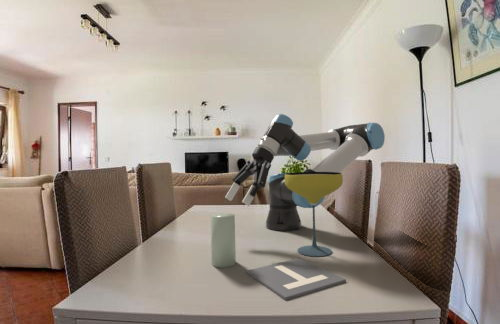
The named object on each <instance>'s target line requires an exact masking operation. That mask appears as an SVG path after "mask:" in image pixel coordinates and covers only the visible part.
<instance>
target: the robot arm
mask: <svg viewBox="0 0 500 324" xmlns="http://www.w3.org/2000/svg"><path fill="white" fill-rule="evenodd" d="M293 125H294V121H293V120H292V119H291V117H290V116H288V115H286V114H281V113H278V114H276V115H275V116H274V118H273V119H272V120H271V122H269V126H268V127H267V129H266V131H265V133H264V134H263V136H262V137H261V138H260V140H259V143H258V144H257V146H256V147H255V148H254V150H253V152H252V154H251V156H252V158H253V159H252V161H250V160H247V161H246V163H245V164H244V166H243V167H242V168H241V169H240V170H239V171H238V172H237V173H236V174H235V176H234V177H233V178H232V182H233V183H232V184H231V187H230V188H229V190H228V191H227V193H226V195H225V197H224V198H225V199H226V200H228V201H230V202H232V201H233V199H234V198H235V196H236V194H237V192H238V191H239V189H240V187H241V186H242V185H241V184H242V183H244V182H245V181H246V180H247V179H248V178H249V177H250V176H253V177H254V178H253V182H252V183H251V186H249V187H250V188H249V189H248V191H247V193H246V194H245V196H244V197H243V199H242V201H241V202H242V203H243V204H245V205H246V206H247V207H250V205H251V204H252V202H253V200H254V198H255V197H256V195H257V193H258V191H259V190H261V189H264V188H265V187H266V182H267V179H268V195H269V197H268V198H269V199H268V201H269V210H268V213H267V217H266V221H265V228H266V229H269V230H272V231H280V232H281V231H287V232H288V231H295V230H298V229H300V228H301V227H302V220H301V218H300V215H299V212H298V208H297V207H300V208H303V209H313V205H311V204H310V203H309V202H308V201H307V199H306V198H304V197H302V196H301V195H299V194H297V193H295V192H293V191H291V190H290V189H289V188H288V187H287V186H286V185H285V174H287V173H288V172H282V173H274V174H271V175H269V173H270V169H271V167H272V164H271V163H272V162H273V160H274V159H275V157H279V156H280V157H282V156H283V157H293V158H294V159H295V160H297V161H299V162H301V161H302V162H303V161H304V160H306V159H307V158H308V157H309V155H310V154H311V152H313V151H320V150H327V149H330V150H331V151H332V152H331V153H330V154H329V155H328V156H326V157H325V158H324V159H322V161H320V162H319V163H317V165H316V166H314V167H313V168H307V169H305V170H304V171H303V172H338V173H342V172H343V171H344V170H345V169H347V168H348V167H349V166H350V165H351V164H353V162H354V161H356V159H358V158H361V157H364V156H366V155H368V154H369V152H371V151H373V150H379V149H382V148H383V146H384V144H385V135H386V134H385V132H384V129H383V127H382V125H381V124H380V123H377V122H367V123H362V124H361V123H359V124H351V125H347V126H343V127H339V128H336V129H329V130H328V131H327V132H319V133H312V134H302V135H299V134H297V132H295V131H294V129H292V128H293ZM268 176H269V178H268ZM325 197H326V196H325ZM325 197H323V198H321V199H320V201H319V202H318V203H317V204H316V205H315V208H317V207H319V206H320V205H321V204H322V203H323V202H324V200H325Z"/></svg>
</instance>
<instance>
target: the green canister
mask: <svg viewBox="0 0 500 324" xmlns="http://www.w3.org/2000/svg"><path fill="white" fill-rule="evenodd" d="M235 220H236V218H235V214H234V213H230V212H229V213H228V212H224V213H223V212H221V213H213V214H210V240H211V241H210V246H211V247H210V248H211V265H212V267H215V268H219V269H220V268H223V269H224V268H229V267H233V266H235V265H236V263H237V256H236V251H237V250H236V221H235Z"/></svg>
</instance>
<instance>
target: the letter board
mask: <svg viewBox="0 0 500 324" xmlns="http://www.w3.org/2000/svg"><path fill="white" fill-rule="evenodd" d="M245 274H247V275H248V276H250V277H251V278H252V279H254V280H255V281H257V282H258V283H260V284H261V285H263V286H264V287H265V288H267V289H268V290H270V291H271V292H273V293H274V294H276V295H277V296H278V297H280V298H282V300H284V301H286V300H290V299H294V298H297V297H300V296H303V295H306V294H307V295H308V294H311V293H313V292H317V291H320V290H323V289H326V288H329V287H333V286H337V285H339V284H343V283H347V279H346V278H344V277H343V276H340V275H337V274H336V273H334V272H331V271H329V270H327V269H324V268H322V267H320V266H318V265H315V264H313V263H311V262H310V261H307V260H305V259H303V258H300V257H299V258H296V259H290V260H286V261H282V262H278V263H274V264H273V263H272V264H268V265H264V266H259V267H255V268H251V269H248V270H247V269H246V270H245Z"/></svg>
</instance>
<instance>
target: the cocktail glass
mask: <svg viewBox="0 0 500 324" xmlns="http://www.w3.org/2000/svg"><path fill="white" fill-rule="evenodd" d="M286 173H287V174H285V185H286V186H287V187H288V188H289V189H290V190H291V191H293V192H295V193H297V194H299V195H301V196H302V197H304V198H306V199H307V201H308V202H309V203H310V204H311V205H313V208H312V242H311V243H312V244H311V245H303V246H300V247H299V248H297V252H298V254H300V255H303V256H305V257H312V258H313V257H314V258H321V257H327V256H330V255H331V254H332V253H333V251H332V249H331V248H329V247H326V246H321V245H318V244H317V239H316V218H315V217H316V214H315V213H316V210H315V208H316V207H315V205H316V204H317V203H318V202H319V201H320V199H321V198H323V197H326V196H328V195H331V194H332V193H335V192H336V191H337V190H339V189H340V188H341V186H342V185H343V180H344V179H343V173H342V172H341V173H338V172H304V171H302V172H301V171H297V172H296V171H295V172H286Z"/></svg>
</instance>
